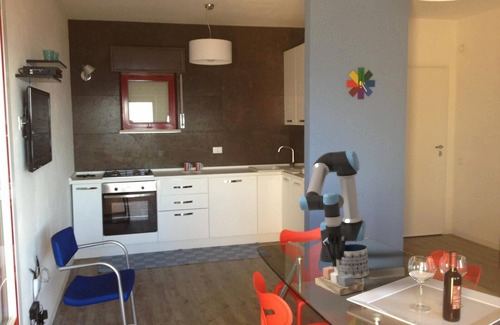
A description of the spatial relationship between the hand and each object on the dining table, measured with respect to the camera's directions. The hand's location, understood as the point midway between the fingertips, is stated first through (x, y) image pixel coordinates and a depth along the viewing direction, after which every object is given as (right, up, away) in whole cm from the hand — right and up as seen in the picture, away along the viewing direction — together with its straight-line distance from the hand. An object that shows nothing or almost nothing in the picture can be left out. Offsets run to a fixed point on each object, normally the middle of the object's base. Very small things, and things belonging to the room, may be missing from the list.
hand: (337, 272), depth 231 cm
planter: (+12, -5, +18) cm, 22 cm away
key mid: (0, -5, 0) cm, 5 cm away
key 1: (-2, -4, +7) cm, 8 cm away
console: (+1, -7, 0) cm, 7 cm away
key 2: (+3, -5, -6) cm, 9 cm away
